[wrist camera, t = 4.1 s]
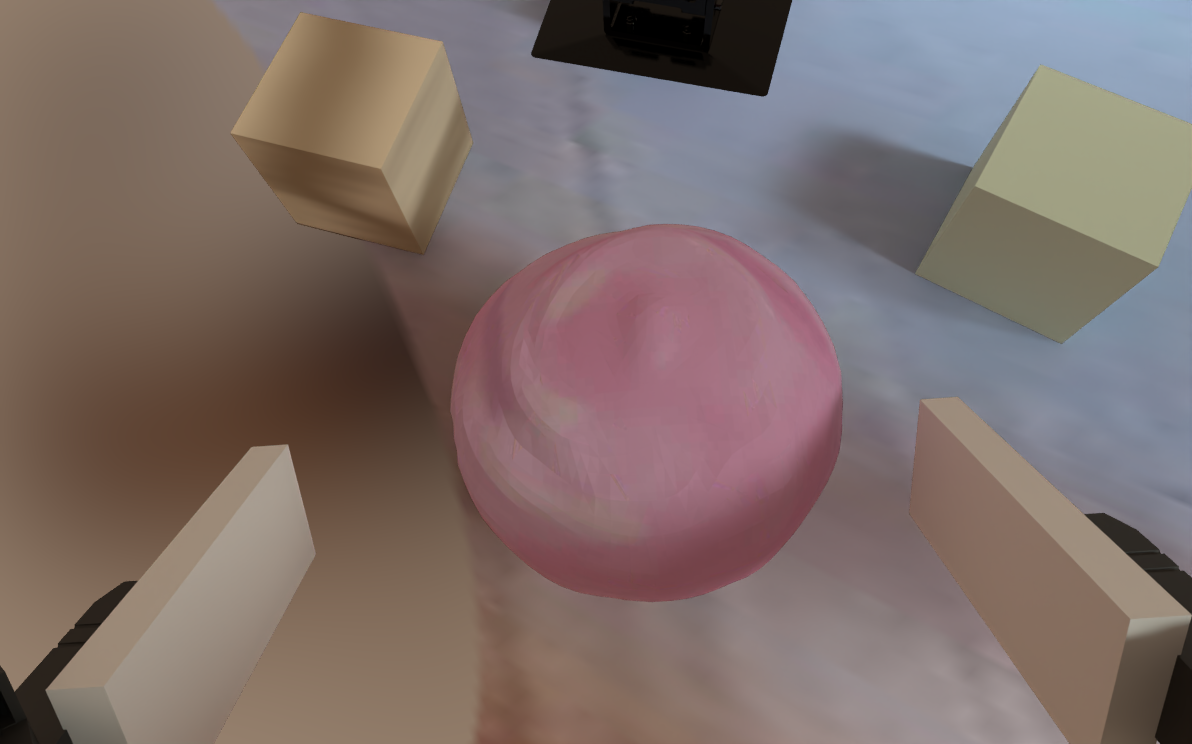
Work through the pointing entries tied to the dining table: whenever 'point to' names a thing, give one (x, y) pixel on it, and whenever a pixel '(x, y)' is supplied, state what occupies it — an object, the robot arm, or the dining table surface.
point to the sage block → (1064, 206)
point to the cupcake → (647, 412)
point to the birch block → (358, 131)
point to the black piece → (670, 39)
